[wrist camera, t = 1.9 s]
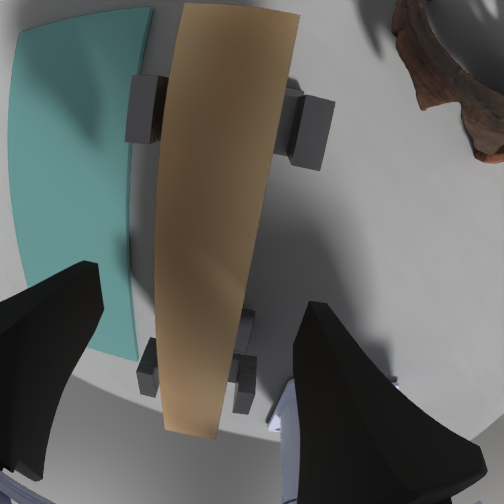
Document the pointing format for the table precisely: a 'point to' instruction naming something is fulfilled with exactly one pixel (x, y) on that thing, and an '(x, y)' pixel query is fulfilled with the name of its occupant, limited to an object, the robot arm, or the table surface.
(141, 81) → the hook standards
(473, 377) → the table surface
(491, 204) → the table surface
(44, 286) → the robot arm
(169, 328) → the oak bar
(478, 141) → the pottery mug
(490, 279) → the table surface
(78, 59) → the teal mat
